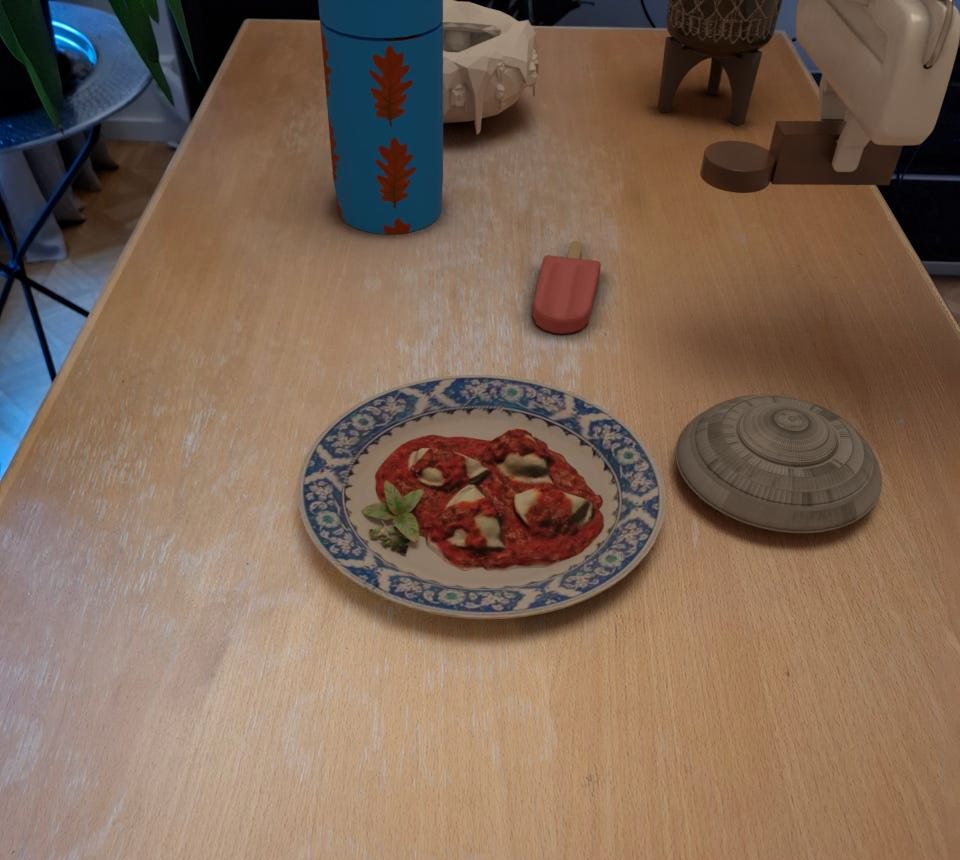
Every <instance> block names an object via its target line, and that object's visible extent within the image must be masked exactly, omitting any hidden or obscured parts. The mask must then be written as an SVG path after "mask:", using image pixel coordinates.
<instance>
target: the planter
mask: <svg viewBox="0 0 960 860" xmlns="http://www.w3.org/2000/svg"><path fill="white" fill-rule="evenodd" d="M783 1H784V0H668V2H667V11H666V30H667V33H668V34H669V36H665V41H664V51H663V58H662V59H663V60H662V68H661V77H660V86H659V92H658V93H659V94H658V102H657V109H658V110H659V112H660V113H670V112H671V109H672V106H673V102H674V99H675V97H676V94H677V91H678V89H679V86H680V84H681V83H682V81H683V79H684V78H685V77H686V76H687V74H688V73H689V72H690V71H691V70H692V69H694V67H696V66H697V65H698V64H700V63H701V62H704V61H706V60H708V59H711V61H710V69H709V77H708V82H707V87H706V88H707V89H706V94H707V95H711V96H718V94H719V92H720V87H721V82H722V77H723V72H724V71H725V73H726V75H727V78H728V81H729V86H730V91H731V108H730V109H731V112H730V117H729V118H730V119H729V122H730V123H731V124H733V125H735V126H740V125H742V124H745V121H746V118H747V114H748V111H749V106H750V102H751V98H752V94H753V90H754V87H755V86H754V85H755V84H756V80H757V79H756V78H757V74H758V72H759V71H758V70H759V67H760V64H761V60H762V55H763V51H762V50H760V49H762V48H764V47H765V46H767V45H768V44H769V42H770V41H771V40H772V38H773V36H774V34H775V31H776V27H777V23H778V19H779V15H780V12H781V7H782V4H783Z"/></svg>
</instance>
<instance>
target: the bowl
mask: <svg viewBox="0 0 960 860" xmlns="http://www.w3.org/2000/svg"><path fill="white" fill-rule="evenodd" d="M539 71H540V70H539V43H538V40H537V33H536V31H535V29H534V27H533V26H532V25H531V23H530V20H529V19H525V20H520V21H519V20H517V19H516V18H514V17H513V16H511V15H510V14H507V13H505V12H503V11H500V10H497V9H493V8H489V7H485V6H483V5H479V4H477V3H473V2H471V1H458V0H443V124H451V123H453V124H454V123H462V122H463V123H464V122H465V123H466V122H473V121H474V127H475V128H474V129H475V131H476V132H475V133H476V135H479V134H480V133H481V130H482V121H483V120H482V119H486V118H489V117H493V116H497V115H499V114H500V113H502V112H503V111H505V110H507V109H508V108H510V107H511V106H513V105H514V104H516V102H517V101H518V100H519V99H520V97H521V96H522V93H523V92H524V91H525V89H526V88H527V87H532V96H533V97H536V95H535V94H536V87H537V86H538V77H539Z"/></svg>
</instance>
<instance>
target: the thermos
mask: <svg viewBox="0 0 960 860" xmlns="http://www.w3.org/2000/svg"><path fill="white" fill-rule="evenodd" d="M317 1H318V15H319V20H320V21H319V26H320V37H321V49H322V60H323V74H324V83H325V84H324V85H325V97H326V109H327V122H328V133H329V134H328V135H329V145H330V146H329V147H330V155H331V169H332V178H333V186H334V194H335V200H336V206H337V214H338V216H339V217H340V218H341V220H342V221H343V222H344V223H346V224H348V225H349V226H351V227H352V228H355V229H357V230H359V231H364V232H367V233H371V234H381V235H399V234H408V233H412V232H416V231H419V230H422V229H425V228H427V227H428V226H430V225H432V224H434V223H435V222H436V221H437V220H438V218H439V217H440V215H441V214H442V203H443V202H442V201H443V184H444V183H443V182H444V123H443V0H317Z"/></svg>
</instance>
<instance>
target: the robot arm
mask: <svg viewBox="0 0 960 860" xmlns="http://www.w3.org/2000/svg"><path fill="white" fill-rule="evenodd" d="M954 1H955V0H797V5H796V12H795V39H796V41H797V42H798V44H799V46H800V47H802V49H803V51H804V52H805V53H806V54H807V56H808V58H809V59H810V60H811V61H812V62H813V64H814V65H815V67H816V68H817V70H818V71H819V72H820V73H821V78H820V82H819V88H818V112H817V113H818V115H817V116H818V117H817V121H845V122H847V123H846V125H845V127H844V129H843V131H842V133H841V135H840V137H839V138H834V139H833V143H832V146H831V152H830V153H829V157H828V159H829V162H830V164H831V165H832V167H833V168H834V170H835V171H837V172H852V171H854V170H855V169H856V168H857V167H858V164H859V161H860V158H861V155H862V152H863V149H864V147H865V146H866V145H867V143H868V142H869V141H870V140H871V141H872V142H873V143H875V144H878V145H896V146H901V145H903V146H917V145H918V146H919V145H921V144H922V143H923V142H925V140H926V139H928V137H929V136H930V135H931V134H932V133H933V131H934V129H935V126H936V124H937V121H938V119H939V116H940V112H941V108H942V105H943V102H944V99H945V95H946V93H947V90H948V86H949V82H950V80H951V79H950V78H951V75H952V72H953V69H954V64H955V61H956V57H957V53H958V48H959V44H960V11H959V10H958V8H957V6H956V5H955V2H954Z"/></svg>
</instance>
